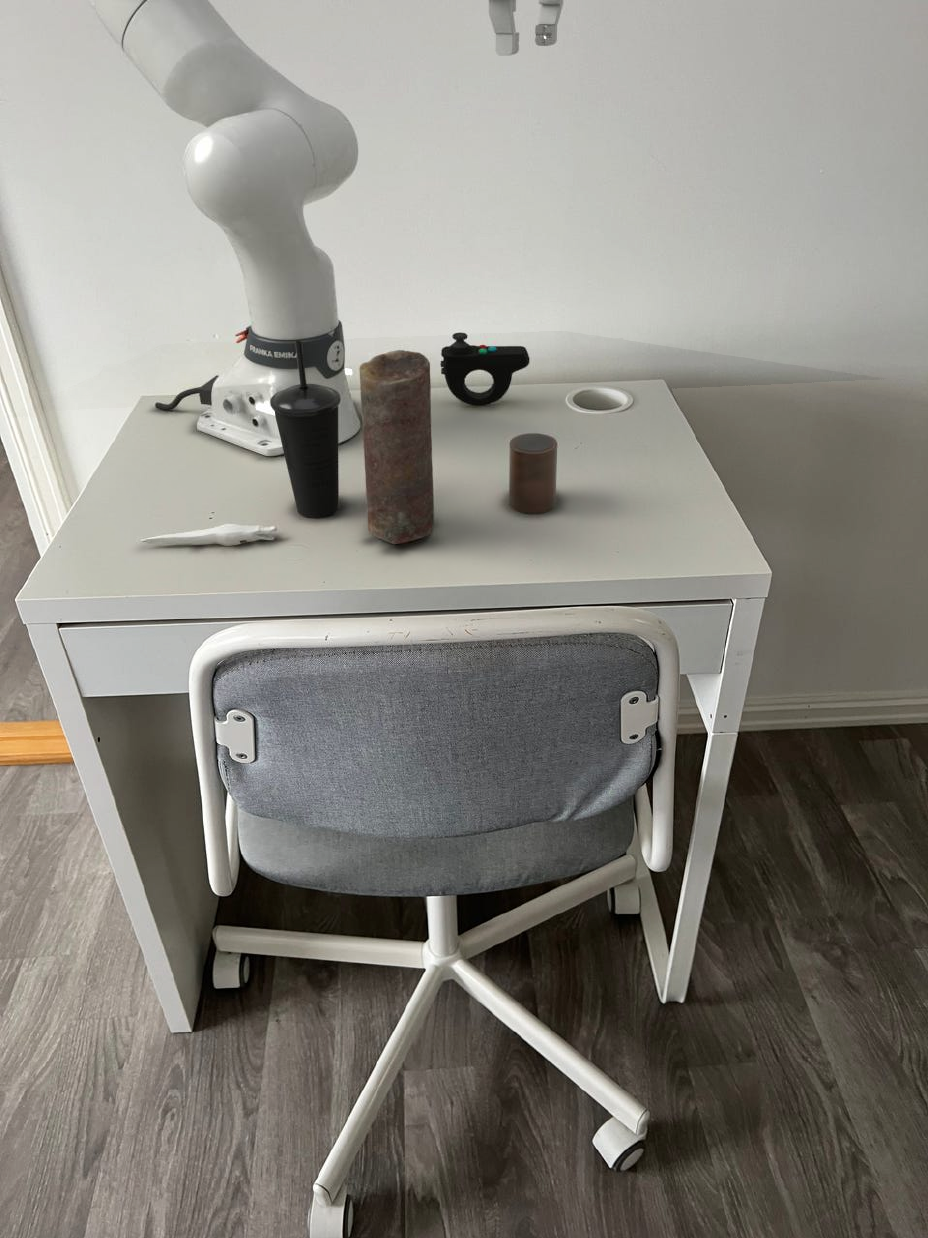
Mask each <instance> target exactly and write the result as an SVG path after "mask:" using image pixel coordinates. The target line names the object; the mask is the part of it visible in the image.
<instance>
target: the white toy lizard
mask: <svg viewBox="0 0 928 1238" xmlns="http://www.w3.org/2000/svg"><path fill="white" fill-rule="evenodd" d="M277 530H278V527H277V526H276V525H273V526H272V525H271V526H262V525H244V524H239V523H224V524H220V525H217V526H215V527H209V528H205V529H197V530H191V531H184V532H177V533H170V534H169V533H168V534H163V535H157V536H152V537H146V538H143V539H141V540H139V542H141V543H144V544H152V545H191V546H192V545H193V546H194V545H195V546H200V545H201V546H202V545H212V544H218V545H221V546H226V547H232V546H237V545H241V544H245V543H250V542H256V541H259V540H265V541H274V540H275V537H273V536H272V535H270V534H272V533H275V532H277Z"/></svg>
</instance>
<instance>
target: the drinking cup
mask: <svg viewBox="0 0 928 1238" xmlns="http://www.w3.org/2000/svg"><path fill="white" fill-rule="evenodd" d="M295 345H296V353H297V362H298V370H299V378H300V384H299V385H294V386H291V387H289V388H286V389H284V390H282V391H279V392H277V393H276V394H274V395H273V396H272V397H271V399H270V406H271V408H272V410H273V411H274V413H275V417H276V422H277V426H278V430H279V434H280V439H281V443H282V447H283V451H284V454H283V456H284V459H285V460H284V461H285V463H286V469H287V472H288V477H289V481H290V485H291V489H292V494H293V497H294V501H295V506H296V510H297V513H298V514H299V515H300V516H302V517H303V518H307V519H322V518H326V517H330V516H332V515H334V514H335V513H337V512H338V510H339V506H340V505H339V503H340V501H339V500H340V499H339V498H340V497H339V491H340V489H339V486H340V485H339V481H340V479H339V478H340V477H339V476H340V475H339V473H340V472H339V469H340V468H339V444H338V405H339V404H340V401H341V398H340V394H339V393H338V392H337V391H336V390H334V389H332V388H329V387H326V386H321V385H317V384H307V383H306V375H305V366H304V358H303V350H302V341H301V340H296V341H295Z"/></svg>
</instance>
